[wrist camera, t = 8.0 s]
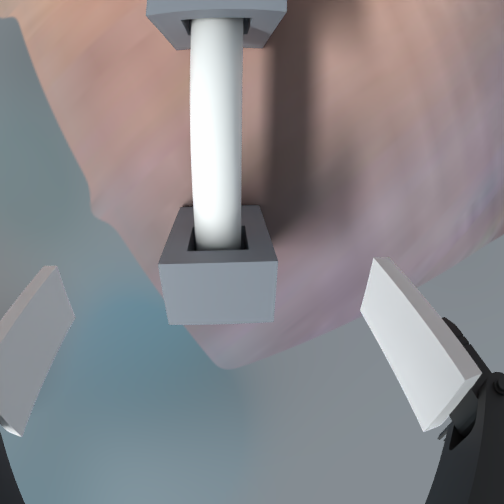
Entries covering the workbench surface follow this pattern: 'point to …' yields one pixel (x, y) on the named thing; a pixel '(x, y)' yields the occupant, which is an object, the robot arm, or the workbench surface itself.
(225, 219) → the tube
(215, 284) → the socket block
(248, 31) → the sleeve
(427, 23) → the workbench surface
